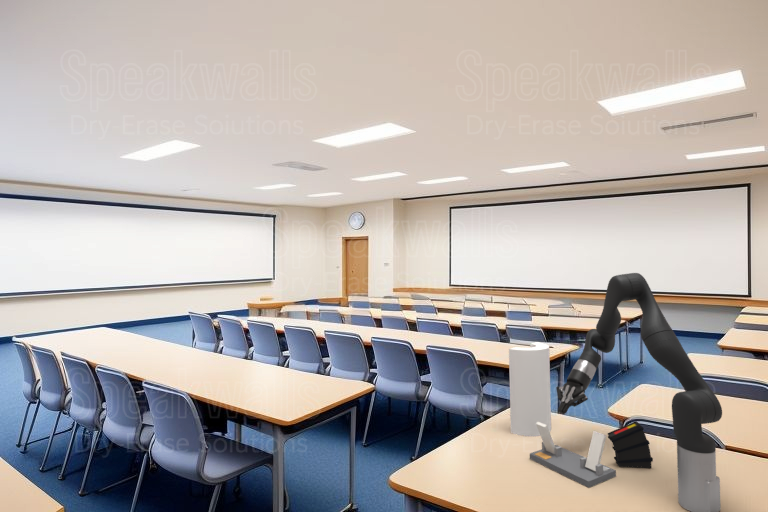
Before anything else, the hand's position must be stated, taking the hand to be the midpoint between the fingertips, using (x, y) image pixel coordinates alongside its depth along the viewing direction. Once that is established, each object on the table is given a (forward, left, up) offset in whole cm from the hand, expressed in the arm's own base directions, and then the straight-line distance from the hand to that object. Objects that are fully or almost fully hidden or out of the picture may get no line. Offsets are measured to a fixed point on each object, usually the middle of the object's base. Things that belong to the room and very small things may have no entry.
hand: (561, 412), depth 165 cm
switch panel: (-8, +5, -15) cm, 18 cm away
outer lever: (0, +5, -13) cm, 14 cm away
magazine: (-18, -13, -16) cm, 27 cm away
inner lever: (-16, +5, -13) cm, 21 cm away
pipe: (+22, -11, -16) cm, 29 cm away
